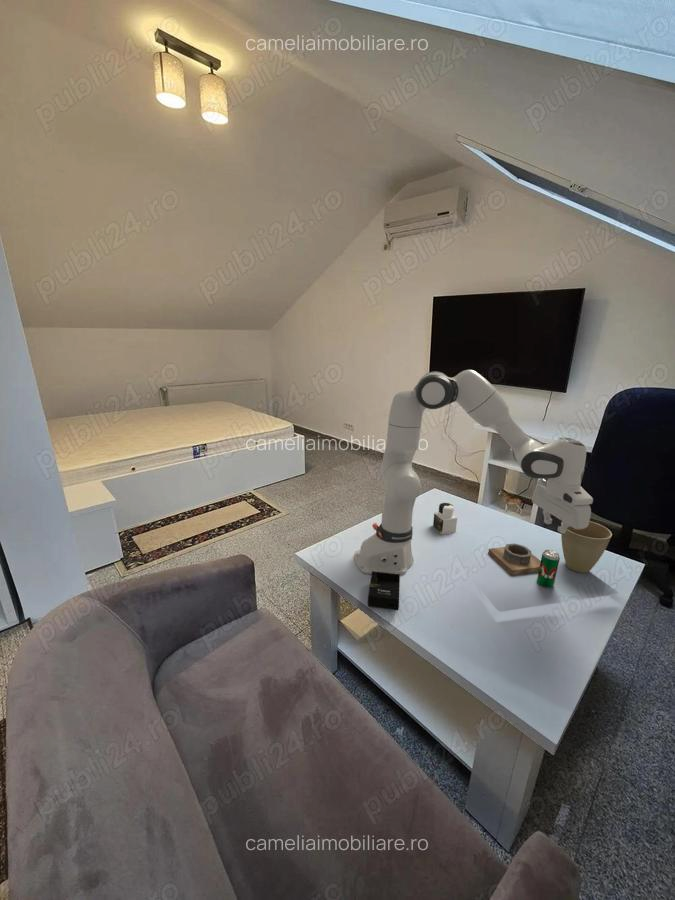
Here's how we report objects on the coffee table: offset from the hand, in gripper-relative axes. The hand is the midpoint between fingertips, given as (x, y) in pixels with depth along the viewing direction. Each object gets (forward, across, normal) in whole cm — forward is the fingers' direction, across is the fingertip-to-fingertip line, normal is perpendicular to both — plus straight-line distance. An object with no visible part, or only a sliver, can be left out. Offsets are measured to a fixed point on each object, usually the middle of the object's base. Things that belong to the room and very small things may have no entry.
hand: (554, 527), depth 117 cm
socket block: (+21, -12, -2) cm, 24 cm away
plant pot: (+21, -5, +18) cm, 28 cm away
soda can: (+21, +1, 0) cm, 21 cm away
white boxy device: (+21, -39, -17) cm, 48 cm away
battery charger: (+22, -4, -56) cm, 60 cm away
